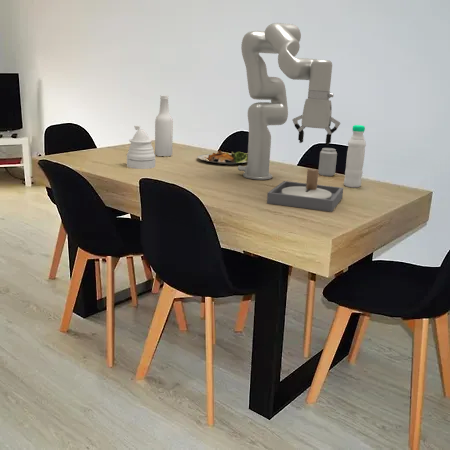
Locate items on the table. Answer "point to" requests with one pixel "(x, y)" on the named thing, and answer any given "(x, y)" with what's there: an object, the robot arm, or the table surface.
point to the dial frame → (301, 201)
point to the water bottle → (355, 157)
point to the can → (327, 162)
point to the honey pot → (140, 151)
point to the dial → (309, 188)
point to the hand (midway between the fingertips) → (314, 143)
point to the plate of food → (225, 157)
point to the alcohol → (163, 129)
